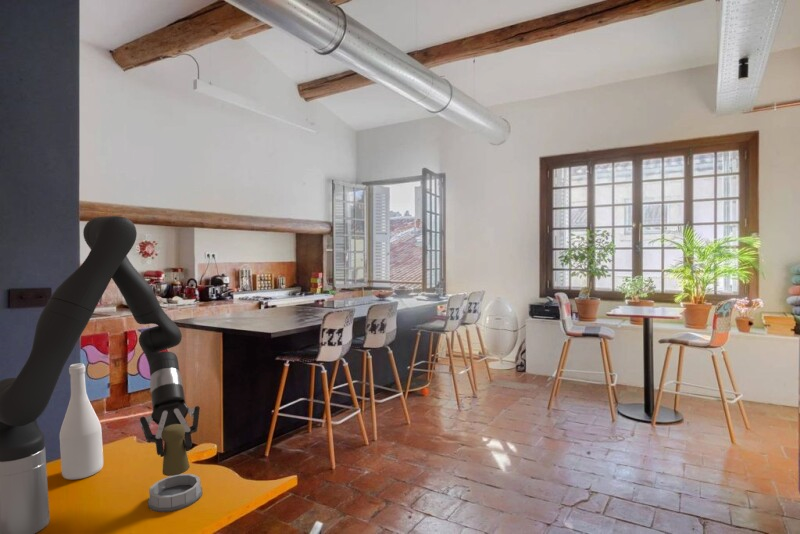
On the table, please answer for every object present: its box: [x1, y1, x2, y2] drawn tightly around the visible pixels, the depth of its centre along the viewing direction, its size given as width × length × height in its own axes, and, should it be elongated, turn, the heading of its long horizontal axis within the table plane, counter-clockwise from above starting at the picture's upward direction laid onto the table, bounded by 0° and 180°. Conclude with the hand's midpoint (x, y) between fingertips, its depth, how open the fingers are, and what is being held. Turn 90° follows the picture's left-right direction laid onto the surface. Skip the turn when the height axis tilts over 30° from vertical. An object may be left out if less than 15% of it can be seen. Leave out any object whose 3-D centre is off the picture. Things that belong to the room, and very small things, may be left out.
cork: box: [161, 424, 190, 477], centre depth 115 cm, size 6×6×11 cm
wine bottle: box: [59, 363, 104, 481], centre depth 129 cm, size 10×10×30 cm
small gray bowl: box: [147, 473, 203, 513], centre depth 116 cm, size 12×12×3 cm
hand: (175, 452), depth 114 cm, fingers closed on cork, 5 cm apart
